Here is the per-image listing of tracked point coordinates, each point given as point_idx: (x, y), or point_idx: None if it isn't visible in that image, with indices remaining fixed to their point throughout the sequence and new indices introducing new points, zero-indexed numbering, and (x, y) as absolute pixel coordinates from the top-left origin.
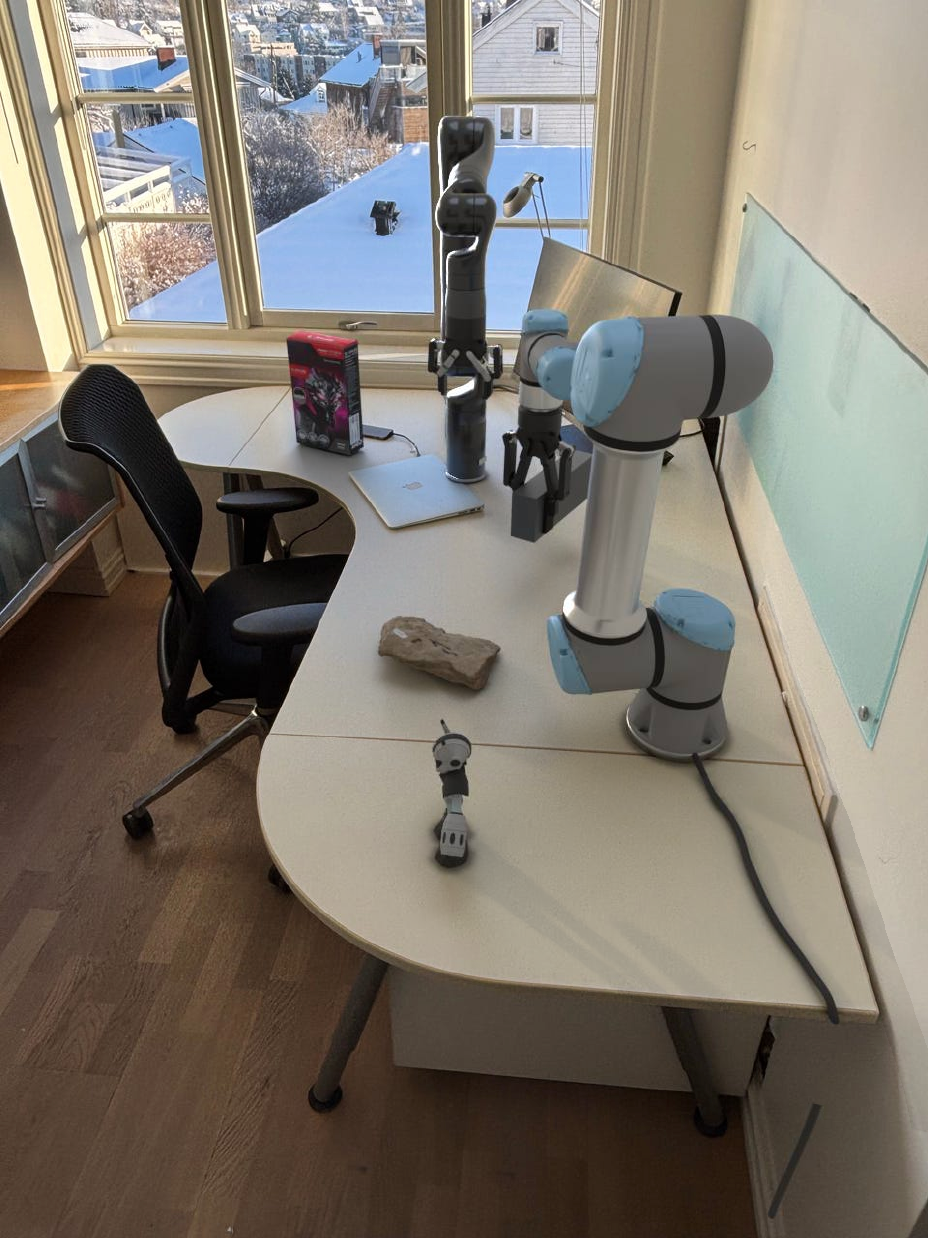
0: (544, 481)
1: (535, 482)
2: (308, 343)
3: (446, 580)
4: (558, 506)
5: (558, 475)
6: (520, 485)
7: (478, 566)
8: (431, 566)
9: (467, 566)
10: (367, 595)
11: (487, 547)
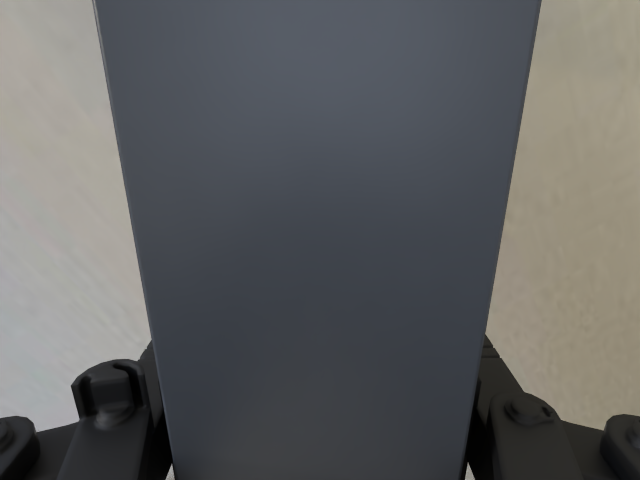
0: (330, 367)
1: (256, 427)
2: None
3: (106, 274)
4: (502, 362)
5: (411, 111)
6: (147, 467)
7: (120, 164)
8: (20, 238)
9: (96, 182)
10: (21, 412)
11: (55, 35)
